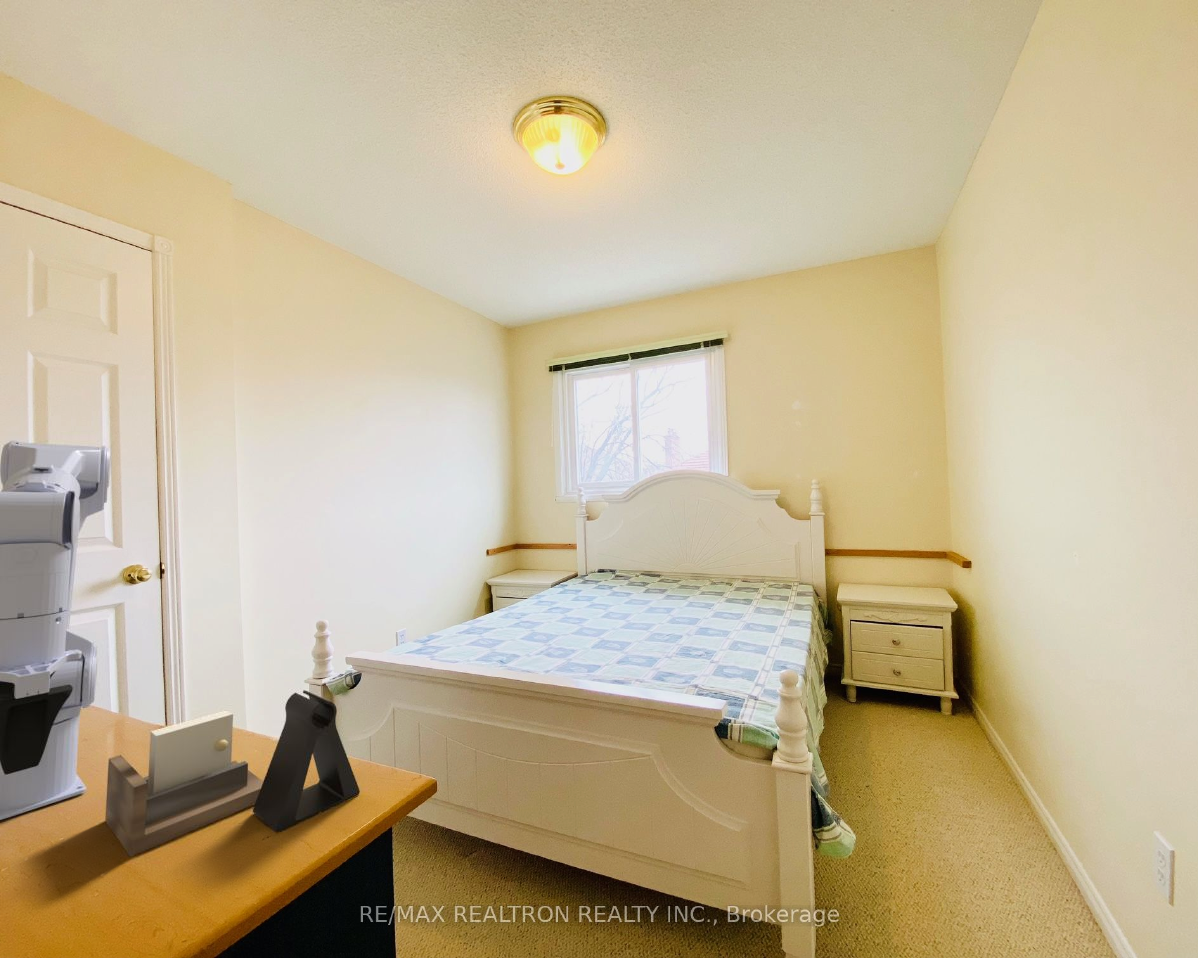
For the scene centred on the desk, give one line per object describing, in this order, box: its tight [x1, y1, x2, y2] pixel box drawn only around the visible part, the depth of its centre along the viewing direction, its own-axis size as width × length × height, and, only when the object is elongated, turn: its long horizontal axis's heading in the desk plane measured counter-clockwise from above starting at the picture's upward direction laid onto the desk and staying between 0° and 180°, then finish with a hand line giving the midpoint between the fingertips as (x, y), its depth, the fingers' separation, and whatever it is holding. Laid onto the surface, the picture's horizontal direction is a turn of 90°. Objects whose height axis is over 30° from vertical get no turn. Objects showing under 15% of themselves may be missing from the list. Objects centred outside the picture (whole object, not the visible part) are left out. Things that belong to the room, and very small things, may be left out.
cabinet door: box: [147, 710, 234, 796], centre depth 56 cm, size 3×7×8 cm, turn 145°
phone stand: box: [252, 690, 361, 834], centre depth 58 cm, size 9×6×12 cm, turn 144°
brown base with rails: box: [105, 754, 264, 858], centre depth 56 cm, size 10×12×6 cm
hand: (15, 757), depth 48 cm, fingers open, 7 cm apart
